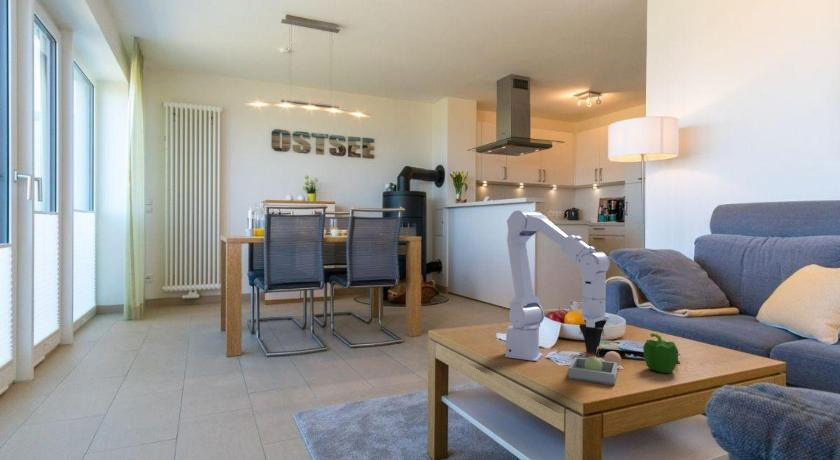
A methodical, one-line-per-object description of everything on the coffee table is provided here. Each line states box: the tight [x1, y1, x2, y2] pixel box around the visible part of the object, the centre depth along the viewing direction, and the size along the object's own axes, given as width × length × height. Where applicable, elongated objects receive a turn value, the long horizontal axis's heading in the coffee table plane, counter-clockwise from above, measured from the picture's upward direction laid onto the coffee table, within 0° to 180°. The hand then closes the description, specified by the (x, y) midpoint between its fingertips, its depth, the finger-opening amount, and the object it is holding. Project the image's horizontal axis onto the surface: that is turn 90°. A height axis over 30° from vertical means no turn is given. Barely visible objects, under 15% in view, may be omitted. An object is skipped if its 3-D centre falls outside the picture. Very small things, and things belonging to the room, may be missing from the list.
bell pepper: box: [642, 332, 679, 374], centre depth 124 cm, size 8×8×10 cm
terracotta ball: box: [603, 350, 622, 368], centre depth 127 cm, size 4×4×4 cm
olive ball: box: [585, 356, 602, 372], centre depth 119 cm, size 4×4×4 cm
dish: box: [567, 356, 618, 386], centre depth 119 cm, size 11×11×3 cm
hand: (593, 349), depth 119 cm, fingers open, 7 cm apart
